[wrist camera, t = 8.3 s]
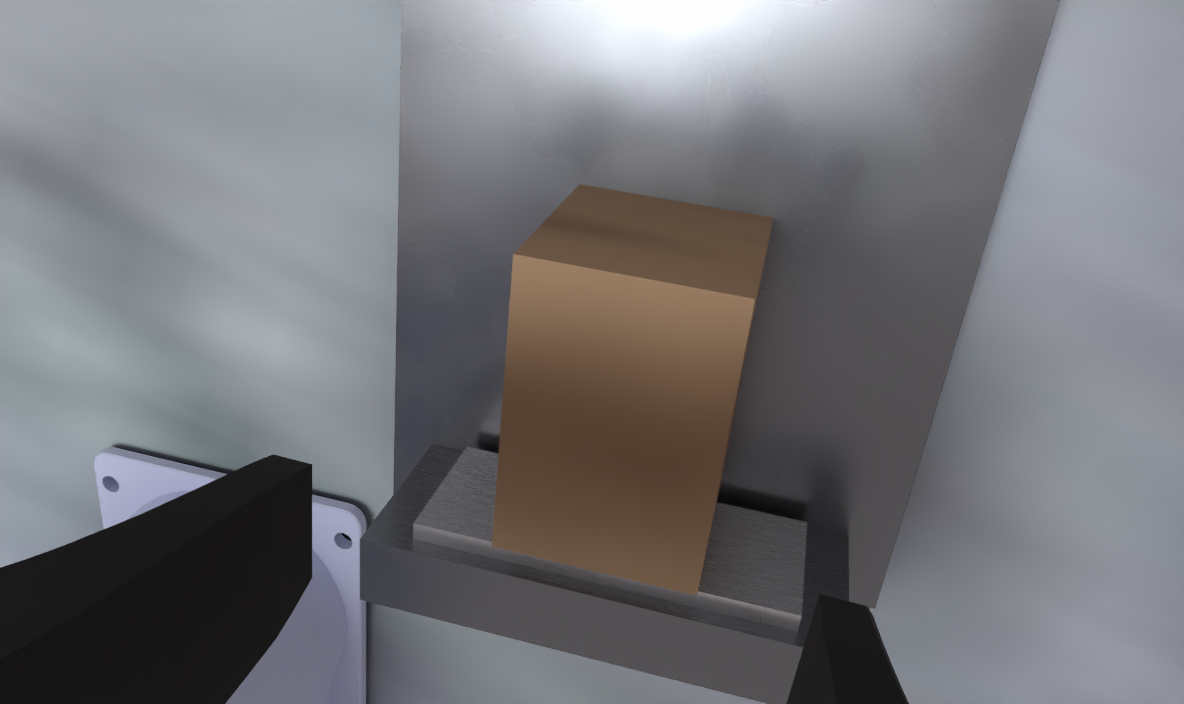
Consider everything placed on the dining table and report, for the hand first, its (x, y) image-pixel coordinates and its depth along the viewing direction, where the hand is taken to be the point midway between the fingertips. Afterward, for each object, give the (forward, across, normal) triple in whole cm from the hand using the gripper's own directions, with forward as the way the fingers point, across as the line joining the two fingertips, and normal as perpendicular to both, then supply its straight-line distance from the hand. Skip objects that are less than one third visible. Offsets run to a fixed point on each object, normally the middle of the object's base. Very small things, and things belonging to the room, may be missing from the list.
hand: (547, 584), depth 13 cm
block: (+9, 0, 0) cm, 9 cm away
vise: (+9, 0, -2) cm, 10 cm away
